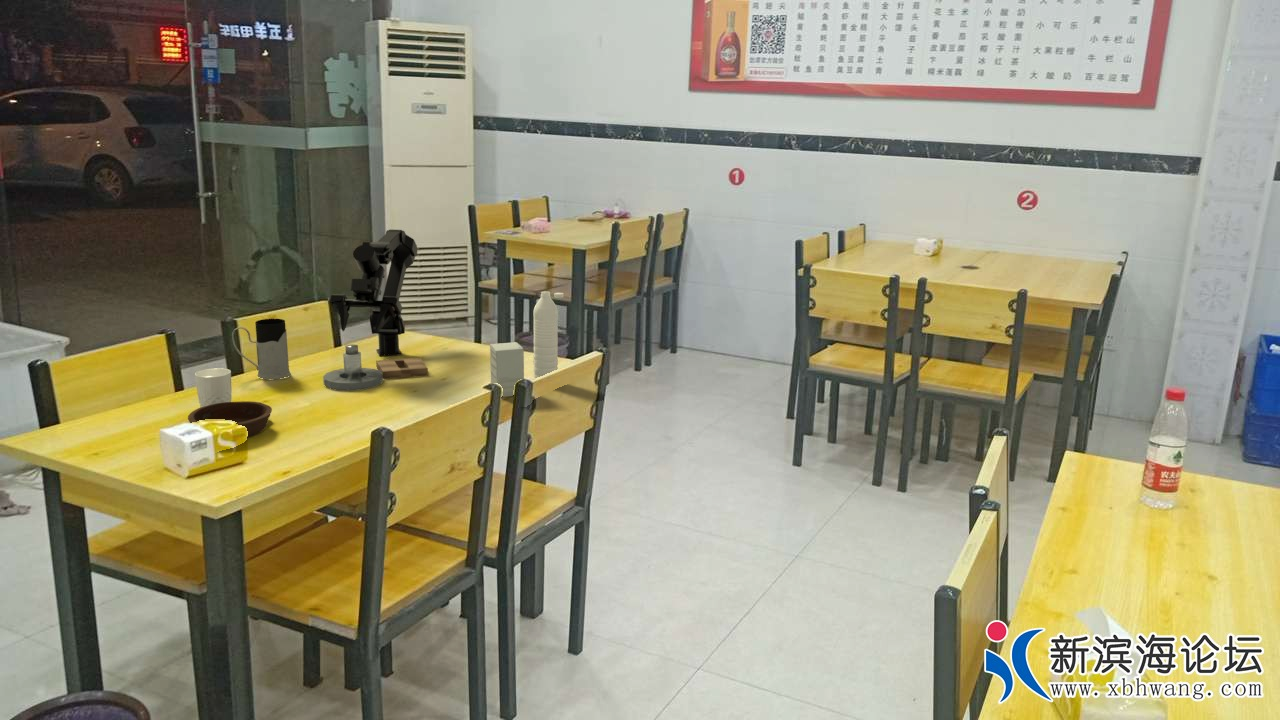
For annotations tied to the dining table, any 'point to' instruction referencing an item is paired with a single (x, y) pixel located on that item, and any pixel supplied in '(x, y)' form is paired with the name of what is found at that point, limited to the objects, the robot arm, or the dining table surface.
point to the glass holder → (270, 348)
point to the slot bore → (395, 371)
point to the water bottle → (545, 334)
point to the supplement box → (506, 365)
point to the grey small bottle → (352, 362)
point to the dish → (236, 414)
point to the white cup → (213, 386)
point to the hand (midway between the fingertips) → (359, 331)
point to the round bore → (353, 380)
